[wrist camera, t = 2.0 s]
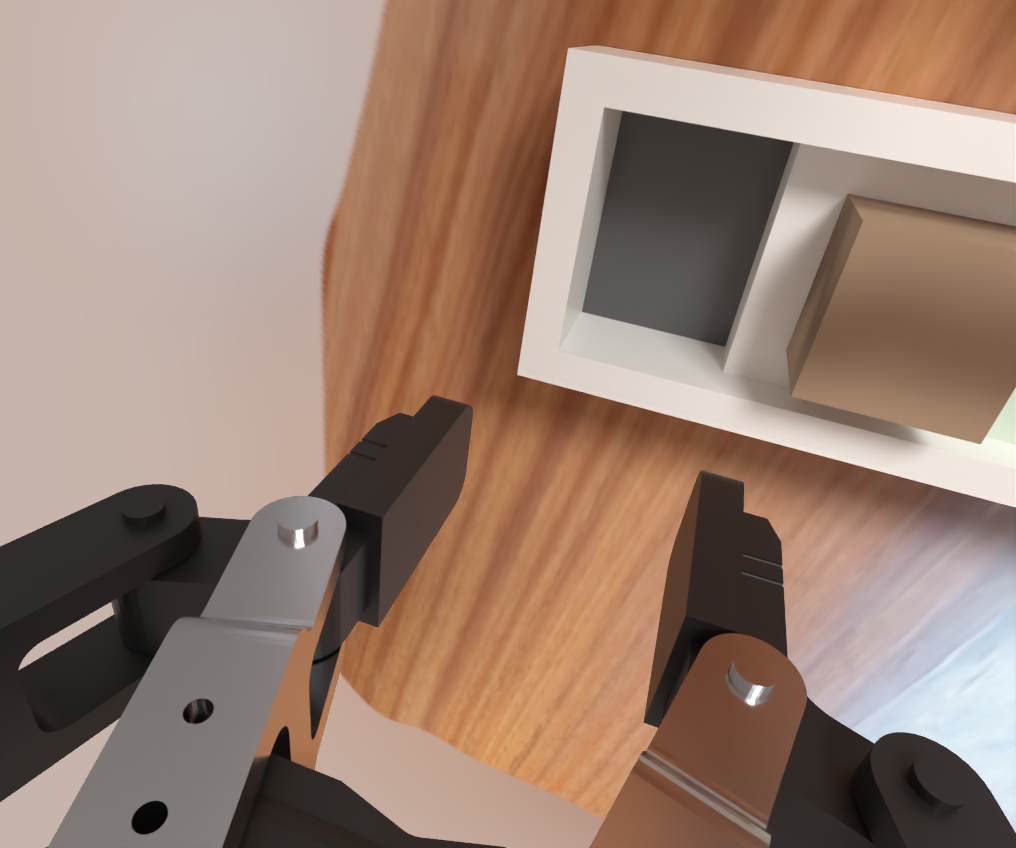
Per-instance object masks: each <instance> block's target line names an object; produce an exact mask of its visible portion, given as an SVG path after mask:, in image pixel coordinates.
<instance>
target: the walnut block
mask: <svg viewBox="0 0 1016 848" xmlns="http://www.w3.org/2000/svg"><path fill="white" fill-rule="evenodd" d="M786 353H787V363H788V372H789V382H790V392H791V397H795V398H799V399H803V400H807V401H811V402H814V403H818V404H822V405H826V406H830V407H834V408H838V409H842V410H846V411H850V412H854V413H858V414H862V415H866V416H870V417H874V418H878V419H882V420H886V421H890V422H894V423H898V424H902V425H906V426H910V427H914V428H917V429H921V430H925V431H929V432H933V433H937V434H941V435H945V436H949V437H953V438H957V439H961V440H965V441H969V442H973V443H977V444H981V443H982V442H983V440H984V438H985V437H986V435H987V434H988V432H989V430H990V429H991V427H992V425H993V424H994V422H995V420H996V419H997V417H998V416H999V414H1000V412H1001V411H1002V409H1003V407H1004V406H1005V404H1006V403H1007V401H1008V399H1009V398H1010V396H1011V394H1012V393H1013V391H1014V389H1015V388H1016V226H1011V225H1006V224H1001V223H995V222H990V221H985V220H980V219H975V218H970V217H965V216H960V215H954V214H949V213H944V212H939V211H934V210H929V209H924V208H918V207H913V206H908V205H903V204H898V203H893V202H888V201H883V200H877V199H872V198H867V197H862V196H857V195H852V194H847V196H846V199H845V201H844V204H843V206H842V209H841V212H840V214H839V217H838V219H837V222H836V224H835V227H834V229H833V232H832V235H831V237H830V240H829V242H828V245H827V247H826V250H825V253H824V255H823V258H822V260H821V263H820V265H819V268H818V270H817V273H816V276H815V278H814V281H813V283H812V286H811V288H810V291H809V294H808V296H807V299H806V301H805V304H804V306H803V309H802V311H801V314H800V317H799V319H798V322H797V324H796V327H795V329H794V332H793V335H792V337H791V340H790V342H789V345H788V347H787V350H786Z"/></svg>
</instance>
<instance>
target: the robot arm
mask: <svg viewBox="0 0 1016 848" xmlns="http://www.w3.org/2000/svg"><path fill="white" fill-rule="evenodd" d="M472 416H473V410H472V407H471V406H470V405H467V404H463V403H460V402H456V401H453V400H449V399H445V398H442V397H438V396H435V395H434V396H432V397H430V398H429V399H428V401H427V402H426V403H425V404H424V405H423V406H422V407H421V409H420V410H419V411H418V412H417V413H416V414H415V415H414V417H413V416H409V415H406V414H402V413H399V414H396V415H394V416H392V417H390V418H388V419H385V420H383V421H381V422H379V423H377V424H376V425H375V426H374V427H373V428H372V429H371V430H370V431H369V432H368V433H367V434H366V435H365V436H364V437H363V438H362V442H359V443H358V444H357V445H356V446H355V447H354V448H353V449H352V450H351V452H350V454H347V455H346V456H345V457H344V458H343V459H342V460H341V461H340V463H339V464H338V465H337V466H336V467H335V468H334V469H333V470H332V471H331V472H330V473H329V474H328V475H327V476H326V477H325V478H324V479H323V480H322V481H321V483H319V485H318V486H317V487H316V488H315V489H314V490H313V491H312V492H311V493H310V494H309V495H308V496H294V497H288V498H284V499H280V500H277V501H275V502H272V503H270V504H268V505H266V506H264V507H263V508H262V509H261V510H259V511H258V512H257V513H256V514H255V515H254V517H253V518H252V519H251V520H236V519H222V518H207V517H199V515H198V508H197V504H196V501H195V499H194V497H193V496H192V495H191V494H190V493H189V492H187V491H185V490H183V489H181V488H178V487H175V486H170V485H163V484H156V485H155V484H152V485H143V486H138V487H133V488H130V489H127V490H124V491H121V492H119V493H116V494H114V495H112V496H110V497H108V498H106V499H104V500H101V501H99V502H97V503H95V504H93V505H90V506H88V507H86V508H84V509H81V510H79V511H77V512H75V513H73V514H71V515H69V516H66V517H64V518H62V519H60V520H57V521H55V522H53V523H51V524H49V525H46V526H44V527H42V528H40V529H38V530H36V531H33V532H31V533H29V534H27V535H25V536H22V537H20V538H18V539H16V540H14V541H12V542H9V543H7V544H5V545H3V546H1V547H0V802H1V801H2V800H4V799H5V798H7V797H8V796H10V795H11V794H12V793H14V792H15V791H17V790H18V789H20V788H21V787H22V786H24V785H25V784H27V783H28V782H29V781H31V780H32V779H34V778H35V777H36V776H38V775H39V774H41V773H42V772H44V771H45V770H47V769H48V768H49V767H51V766H52V765H54V764H55V763H56V762H58V761H59V760H61V759H62V758H64V757H65V756H66V755H68V754H69V753H71V752H72V751H74V750H75V749H76V748H78V747H79V746H81V745H82V744H83V743H85V742H86V741H88V740H89V739H90V738H92V737H93V736H95V735H96V734H98V733H99V732H100V731H102V730H103V729H105V728H106V727H108V726H109V725H110V724H112V723H113V722H115V721H116V720H117V719H119V718H120V719H119V721H118V723H117V725H116V726H115V728H114V730H113V732H112V733H111V735H110V737H109V739H108V741H107V742H106V744H105V746H104V748H103V750H102V752H101V753H100V755H99V757H98V759H97V760H96V762H95V764H94V766H93V768H92V769H91V771H90V773H89V775H88V777H87V778H86V780H85V782H84V784H83V785H82V787H81V789H80V791H79V792H78V794H77V796H76V798H75V800H74V801H73V803H72V805H71V807H70V809H69V811H68V812H67V814H66V816H65V818H64V819H63V821H62V823H61V825H60V826H59V828H58V830H57V832H56V834H55V835H54V837H53V839H52V841H51V843H50V844H49V846H48V847H46V848H505V847H499V846H490V845H481V844H472V843H464V842H455V841H446V840H438V839H429V838H420V837H415V836H413V835H410V834H408V833H406V832H405V831H403V830H402V829H401V828H400V827H398V826H397V825H396V824H395V823H393V822H392V821H390V819H388V818H387V817H386V816H384V815H383V814H382V813H380V811H378V810H377V809H376V808H374V807H373V806H372V805H371V804H369V803H368V802H367V801H365V800H364V799H363V798H362V797H360V796H359V795H358V794H357V793H356V792H354V791H353V790H352V789H351V788H349V787H348V786H347V785H346V784H344V783H343V782H342V781H340V780H337V779H334V778H332V777H329V776H327V775H325V774H322V773H320V772H317V771H315V764H316V759H317V754H318V750H319V746H320V743H321V739H322V735H323V731H324V728H325V724H326V721H327V717H328V713H329V710H330V706H331V702H332V699H333V695H334V691H335V688H336V684H337V680H338V677H339V673H340V669H341V666H342V662H343V658H344V655H345V650H346V638H347V636H348V635H349V633H350V632H351V630H352V629H353V627H354V626H355V624H356V623H357V621H361V622H364V623H367V624H370V625H373V626H375V627H379V625H380V624H381V622H382V621H383V619H384V617H385V616H386V614H387V613H388V611H389V609H390V608H391V606H392V605H393V603H394V601H395V600H396V598H397V597H398V595H399V593H400V592H401V590H402V589H403V587H404V585H405V584H406V582H407V581H408V579H409V578H410V576H411V574H412V573H413V571H414V570H415V568H416V566H417V565H418V563H419V562H420V560H421V558H422V557H423V555H424V554H425V552H426V550H427V549H428V547H429V546H430V544H431V542H432V541H433V539H434V538H435V536H436V534H437V533H438V531H439V530H440V528H441V526H442V525H443V523H444V522H445V520H446V518H447V517H448V515H449V514H450V512H451V511H452V509H453V507H454V506H455V504H456V502H457V500H458V498H459V495H460V493H461V490H462V487H463V483H464V479H465V474H466V467H467V459H468V450H469V442H470V434H471V425H472ZM743 509H744V483H743V482H741V481H738V480H734V479H730V478H727V477H723V476H720V475H716V474H713V473H709V472H705V471H702V470H701V471H700V473H699V475H698V477H697V479H696V482H695V485H694V488H693V491H692V494H691V496H690V499H689V502H688V505H687V508H686V511H685V514H684V516H683V519H682V522H681V525H680V528H679V531H678V534H677V536H676V539H675V543H674V546H673V550H672V553H671V557H670V561H669V566H668V571H667V577H666V584H665V590H664V596H663V603H662V609H661V615H660V622H659V628H658V634H657V641H656V647H655V653H654V660H653V666H652V672H651V679H650V685H649V691H648V698H647V704H646V710H645V717H644V723H647V724H649V725H652V726H655V727H658V730H657V732H656V734H655V736H654V738H653V739H652V741H651V743H650V745H649V747H648V748H647V750H646V752H645V751H643V752H642V754H641V755H640V757H639V758H638V760H637V762H636V763H635V765H634V767H633V769H632V771H631V772H630V774H629V776H628V778H627V780H626V782H625V783H624V785H623V787H622V789H621V791H620V793H619V794H618V796H617V798H616V800H615V802H614V804H613V806H612V807H611V809H610V811H609V813H608V815H607V817H606V818H605V820H604V822H603V824H602V826H601V828H600V829H599V831H598V833H597V835H596V837H595V839H594V840H593V842H592V844H591V846H590V848H1016V833H1015V831H1014V829H1013V828H1012V826H1011V825H1010V823H1009V821H1008V820H1007V818H1006V816H1005V815H1004V813H1003V811H1002V810H1001V808H1000V806H999V805H998V803H997V801H996V800H995V798H994V796H993V795H992V793H991V791H990V790H989V789H988V787H987V786H986V784H985V783H984V781H983V780H982V779H981V778H980V777H979V775H978V774H977V773H976V772H975V771H974V770H973V769H972V768H971V767H970V766H969V765H968V764H967V763H966V762H965V761H963V760H962V759H961V758H960V757H959V756H957V755H956V754H955V753H953V752H952V751H950V750H949V749H947V748H946V747H944V746H942V745H940V744H939V743H937V742H935V741H933V740H930V739H928V738H925V737H923V736H919V735H916V734H911V733H905V732H895V733H891V734H887V735H885V736H883V737H881V738H880V739H879V740H878V741H877V742H876V743H875V744H874V743H872V742H871V741H869V740H867V739H866V738H864V737H863V736H861V735H859V734H858V733H856V732H854V731H853V730H851V729H849V728H848V727H846V726H844V725H843V724H841V723H840V722H838V721H836V720H835V719H833V718H832V717H830V716H829V715H827V714H826V713H825V712H824V711H822V710H821V709H820V708H819V707H817V706H816V705H815V704H814V703H813V702H812V701H811V700H810V699H809V698H808V697H807V691H806V687H805V684H804V681H803V679H802V677H801V675H800V673H799V672H798V670H797V669H796V667H795V666H794V665H793V664H792V663H791V661H790V660H789V659H788V657H787V640H786V622H785V604H784V587H782V585H783V569H782V568H781V567H782V550H781V541H780V539H779V538H778V536H777V534H776V533H775V531H774V529H773V528H772V526H771V524H770V523H769V521H768V519H766V518H762V517H759V516H755V515H752V514H749V513H745V512H743ZM110 602H111V603H112V607H113V610H114V615H113V616H111V617H109V618H107V619H106V620H104V621H102V622H101V623H99V624H97V625H96V626H94V627H92V628H90V629H89V630H87V631H85V632H83V633H82V634H80V635H79V636H77V637H75V638H73V639H72V640H70V641H68V642H67V643H65V644H63V645H61V646H60V647H58V648H56V649H55V650H53V651H51V652H49V653H48V654H46V655H44V656H43V657H41V658H39V659H38V660H36V661H34V662H32V663H31V664H29V665H27V666H26V667H24V668H22V669H20V670H18V669H19V666H20V664H21V662H22V660H23V658H24V657H25V656H26V654H27V653H28V652H29V651H30V650H31V649H32V648H33V647H35V646H36V645H37V644H38V643H40V642H41V641H43V640H45V639H47V638H49V637H50V636H52V635H54V634H55V633H57V632H59V631H61V630H63V629H64V628H66V627H68V626H69V625H71V624H73V623H75V622H77V621H78V620H80V619H81V618H84V617H85V616H87V615H89V614H90V613H92V612H94V611H96V610H97V609H99V608H101V607H103V606H104V605H106V604H108V603H110Z"/></svg>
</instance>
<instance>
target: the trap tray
mask: <svg viewBox="0 0 1016 848" xmlns="http://www.w3.org/2000/svg"><path fill="white" fill-rule="evenodd" d="M847 194H852V195H857V196H862V197H867V198H872V199H877V200H883V201H888V202H893V203H898V204H903V205H908V206H913V207H918V208H924V209H929V210H934V211H939V212H944V213H949V214H954V215H960V216H965V217H970V218H975V219H980V220H985V221H990V222H995V223H1001V224H1006V225H1011V226H1016V115H1014V114H1008V113H1002V112H996V111H990V110H984V109H978V108H972V107H966V106H960V105H954V104H948V103H942V102H936V101H930V100H924V99H918V98H912V97H906V96H900V95H894V94H888V93H882V92H876V91H870V90H864V89H858V88H852V87H846V86H840V85H834V84H828V83H822V82H816V81H810V80H804V79H798V78H792V77H786V76H780V75H774V74H768V73H762V72H756V71H750V70H744V69H738V68H732V67H726V66H720V65H714V64H708V63H702V62H696V61H690V60H684V59H678V58H672V57H666V56H660V55H654V54H648V53H642V52H636V51H630V50H624V49H618V48H612V47H606V46H600V45H594V46H584V47H574V48H568V52H567V59H566V65H565V72H564V78H563V84H562V91H561V97H560V104H559V110H558V116H557V123H556V129H555V136H554V142H553V148H552V155H551V161H550V168H549V174H548V180H547V187H546V193H545V200H544V206H543V212H542V219H541V225H540V231H539V238H538V244H537V251H536V257H535V263H534V270H533V276H532V283H531V289H530V295H529V302H528V308H527V315H526V321H525V327H524V334H523V340H522V347H521V353H520V359H519V366H518V372H517V375H520V376H524V377H527V378H531V379H535V380H539V381H542V382H546V383H550V384H554V385H557V386H561V387H565V388H569V389H572V390H576V391H580V392H584V393H587V394H591V395H595V396H599V397H602V398H606V399H610V400H614V401H617V402H621V403H625V404H629V405H632V406H636V407H640V408H644V409H647V410H651V411H655V412H659V413H663V414H666V415H670V416H674V417H678V418H681V419H685V420H689V421H693V422H696V423H700V424H704V425H708V426H711V427H715V428H719V429H723V430H726V431H730V432H734V433H738V434H741V435H745V436H749V437H753V438H756V439H760V440H764V441H768V442H771V443H775V444H779V445H783V446H786V447H790V448H794V449H798V450H801V451H805V452H809V453H813V454H817V455H820V456H824V457H828V458H832V459H835V460H839V461H843V462H847V463H850V464H854V465H858V466H862V467H865V468H869V469H873V470H877V471H880V472H884V473H888V474H892V475H895V476H899V477H903V478H907V479H910V480H914V481H918V482H922V483H925V484H929V485H933V486H937V487H940V488H944V489H948V490H952V491H955V492H959V493H963V494H967V495H971V496H974V497H978V498H982V499H986V500H989V501H993V502H997V503H1001V504H1004V505H1008V506H1012V507H1016V388H1015V389H1014V391H1013V393H1012V394H1011V396H1010V398H1009V399H1008V401H1007V403H1006V404H1005V406H1004V407H1003V409H1002V411H1001V412H1000V414H999V416H998V417H997V419H996V420H995V422H994V424H993V425H992V427H991V429H990V430H989V432H988V434H987V435H986V437H985V438H984V440H983V442H982V443H981V444H977V443H973V442H969V441H965V440H961V439H957V438H953V437H949V436H945V435H941V434H937V433H933V432H929V431H925V430H921V429H917V428H914V427H910V426H906V425H902V424H898V423H894V422H890V421H886V420H882V419H878V418H874V417H870V416H866V415H862V414H858V413H854V412H850V411H846V410H842V409H838V408H834V407H830V406H826V405H822V404H818V403H814V402H811V401H807V400H803V399H799V398H795V397H791V392H790V382H789V372H788V363H787V353H786V350H787V347H788V345H789V342H790V340H791V337H792V335H793V332H794V329H795V327H796V324H797V322H798V319H799V317H800V314H801V311H802V309H803V306H804V304H805V301H806V299H807V296H808V294H809V291H810V288H811V286H812V283H813V281H814V278H815V276H816V273H817V270H818V268H819V265H820V263H821V260H822V258H823V255H824V253H825V250H826V247H827V245H828V242H829V240H830V237H831V235H832V232H833V229H834V227H835V224H836V222H837V219H838V217H839V214H840V212H841V209H842V206H843V204H844V201H845V199H846V196H847Z"/></svg>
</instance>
